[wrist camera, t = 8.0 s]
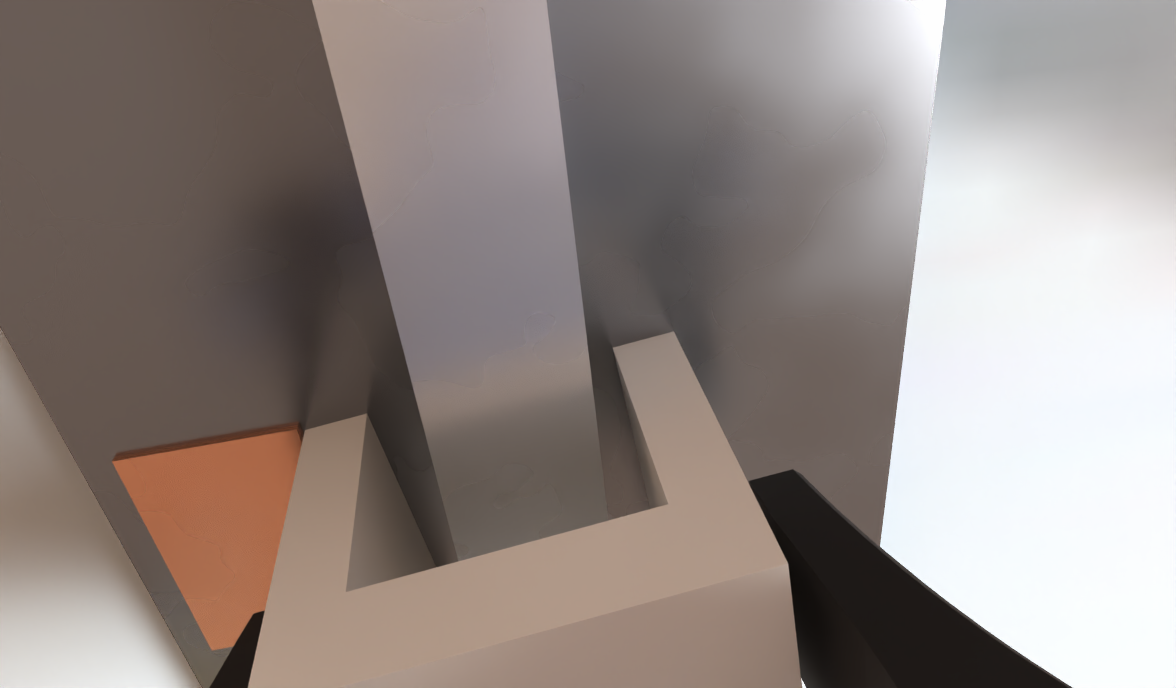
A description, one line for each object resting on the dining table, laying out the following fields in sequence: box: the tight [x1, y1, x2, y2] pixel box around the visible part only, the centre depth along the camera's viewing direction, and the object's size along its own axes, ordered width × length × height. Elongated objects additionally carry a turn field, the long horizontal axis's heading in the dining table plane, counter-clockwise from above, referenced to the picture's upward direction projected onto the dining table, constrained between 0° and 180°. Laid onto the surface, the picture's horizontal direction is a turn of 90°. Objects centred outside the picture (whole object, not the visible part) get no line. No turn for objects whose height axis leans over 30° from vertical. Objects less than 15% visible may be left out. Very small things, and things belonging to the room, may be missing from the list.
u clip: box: [248, 331, 802, 688], centre depth 11 cm, size 5×4×4 cm
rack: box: [0, 0, 946, 688], centre depth 10 cm, size 12×18×3 cm, turn 6°
